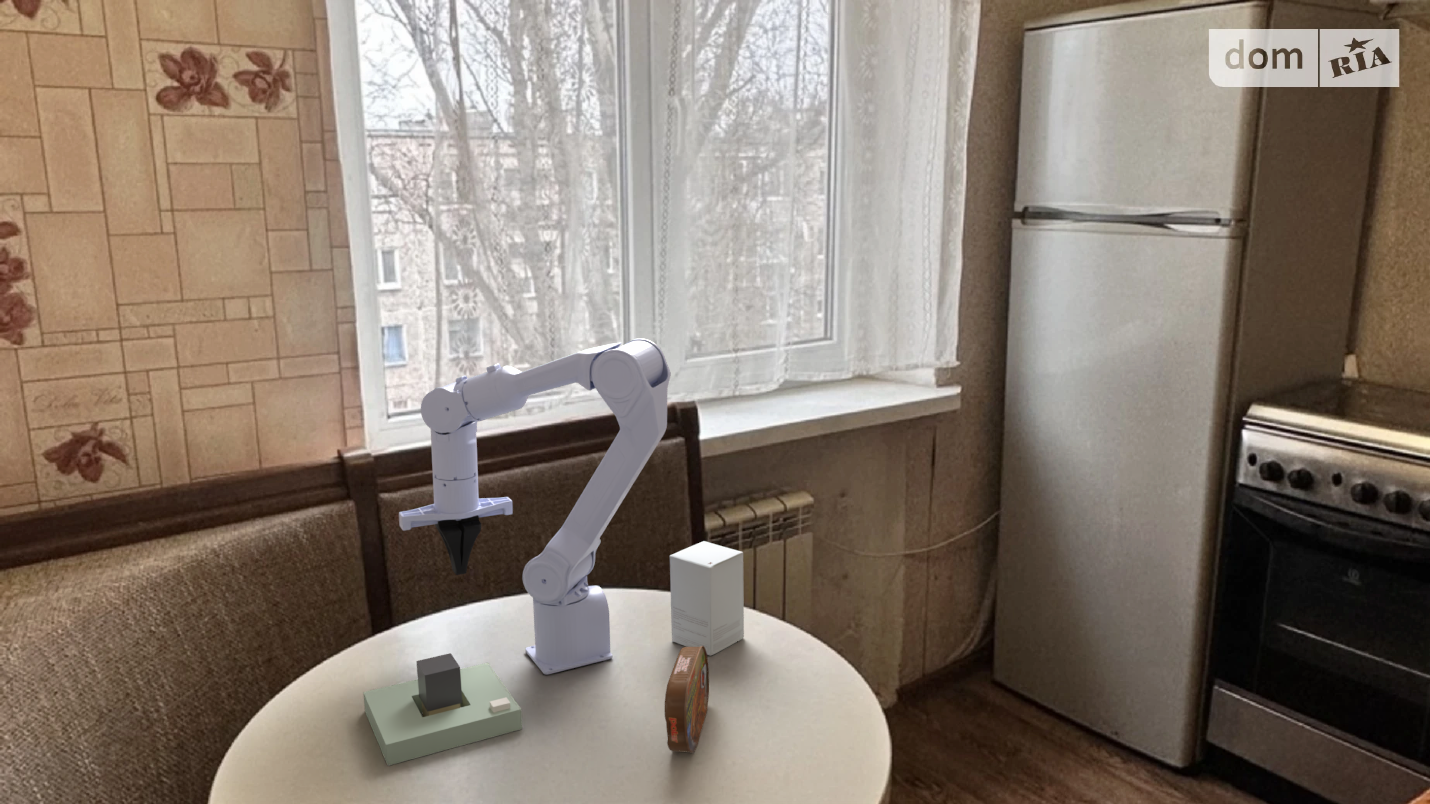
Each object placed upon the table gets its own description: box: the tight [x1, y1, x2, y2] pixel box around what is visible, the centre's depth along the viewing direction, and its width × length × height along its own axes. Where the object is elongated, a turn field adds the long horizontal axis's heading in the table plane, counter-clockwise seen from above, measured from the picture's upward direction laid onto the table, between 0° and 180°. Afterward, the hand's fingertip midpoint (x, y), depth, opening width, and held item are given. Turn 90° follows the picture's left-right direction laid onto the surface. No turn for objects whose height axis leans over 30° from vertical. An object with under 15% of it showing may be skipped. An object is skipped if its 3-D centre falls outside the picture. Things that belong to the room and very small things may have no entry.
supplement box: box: [669, 540, 745, 656], centre depth 135 cm, size 7×7×13 cm
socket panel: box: [362, 662, 523, 766], centre depth 116 cm, size 15×13×3 cm
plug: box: [416, 653, 462, 717], centre depth 116 cm, size 4×4×7 cm
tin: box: [664, 646, 710, 754], centre depth 114 cm, size 15×3×8 cm, turn 172°
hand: (459, 571), depth 134 cm, fingers closed
